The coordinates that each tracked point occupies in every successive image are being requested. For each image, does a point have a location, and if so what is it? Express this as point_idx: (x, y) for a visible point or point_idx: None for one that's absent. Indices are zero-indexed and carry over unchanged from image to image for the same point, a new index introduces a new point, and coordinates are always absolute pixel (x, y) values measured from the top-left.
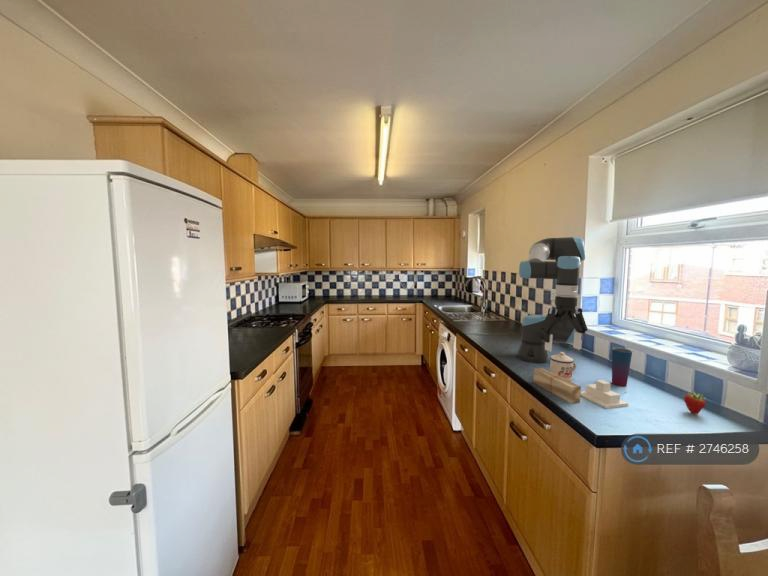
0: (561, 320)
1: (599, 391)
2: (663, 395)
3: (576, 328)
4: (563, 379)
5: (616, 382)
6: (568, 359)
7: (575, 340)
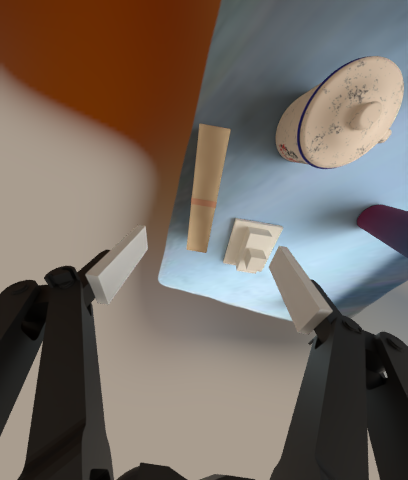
0: (105, 461)
1: (241, 255)
2: (360, 268)
3: (320, 350)
4: (207, 219)
5: (362, 221)
6: (334, 158)
7: (289, 276)
